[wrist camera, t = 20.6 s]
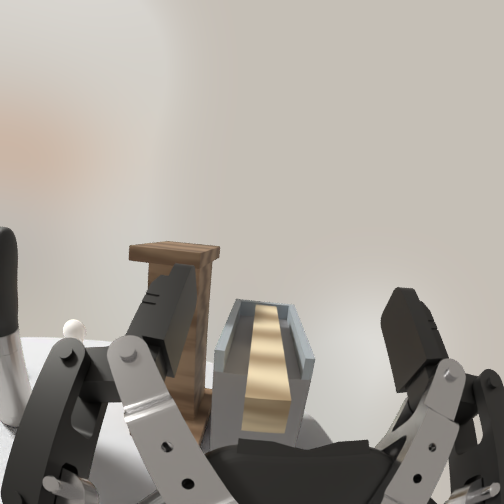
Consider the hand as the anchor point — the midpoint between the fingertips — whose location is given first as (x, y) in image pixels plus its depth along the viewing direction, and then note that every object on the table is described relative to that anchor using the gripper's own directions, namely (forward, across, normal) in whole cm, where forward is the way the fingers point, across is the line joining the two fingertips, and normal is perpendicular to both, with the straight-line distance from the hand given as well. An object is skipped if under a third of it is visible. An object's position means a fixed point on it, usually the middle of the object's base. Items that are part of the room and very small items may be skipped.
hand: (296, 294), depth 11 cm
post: (+10, +14, +45) cm, 48 cm away
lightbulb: (+19, +43, +51) cm, 70 cm away
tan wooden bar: (+10, 0, +20) cm, 23 cm away
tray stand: (+5, 0, +42) cm, 42 cm away
